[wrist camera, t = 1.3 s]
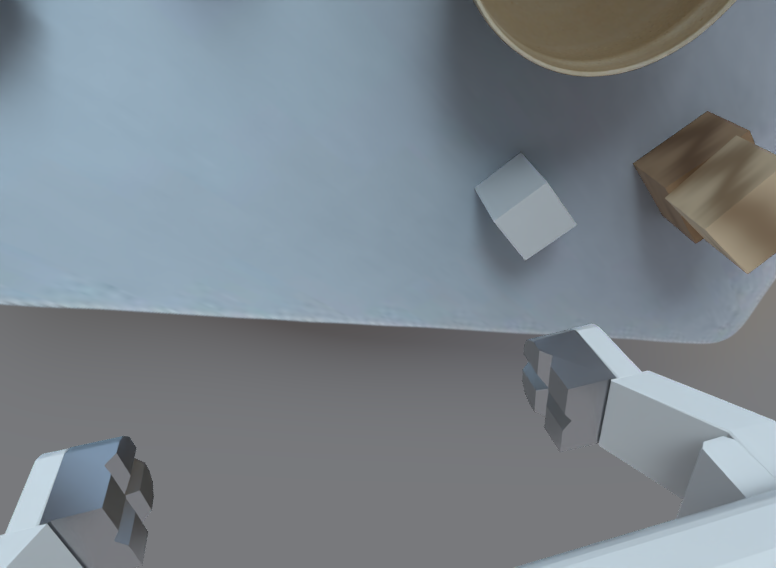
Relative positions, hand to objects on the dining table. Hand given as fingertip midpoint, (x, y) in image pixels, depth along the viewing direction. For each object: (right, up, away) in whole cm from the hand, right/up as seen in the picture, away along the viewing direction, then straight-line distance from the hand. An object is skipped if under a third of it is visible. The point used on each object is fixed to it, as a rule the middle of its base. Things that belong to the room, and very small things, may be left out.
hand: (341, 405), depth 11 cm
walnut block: (+25, +12, +32) cm, 43 cm away
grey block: (+11, +10, +32) cm, 35 cm away
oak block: (+26, +9, +28) cm, 39 cm away
